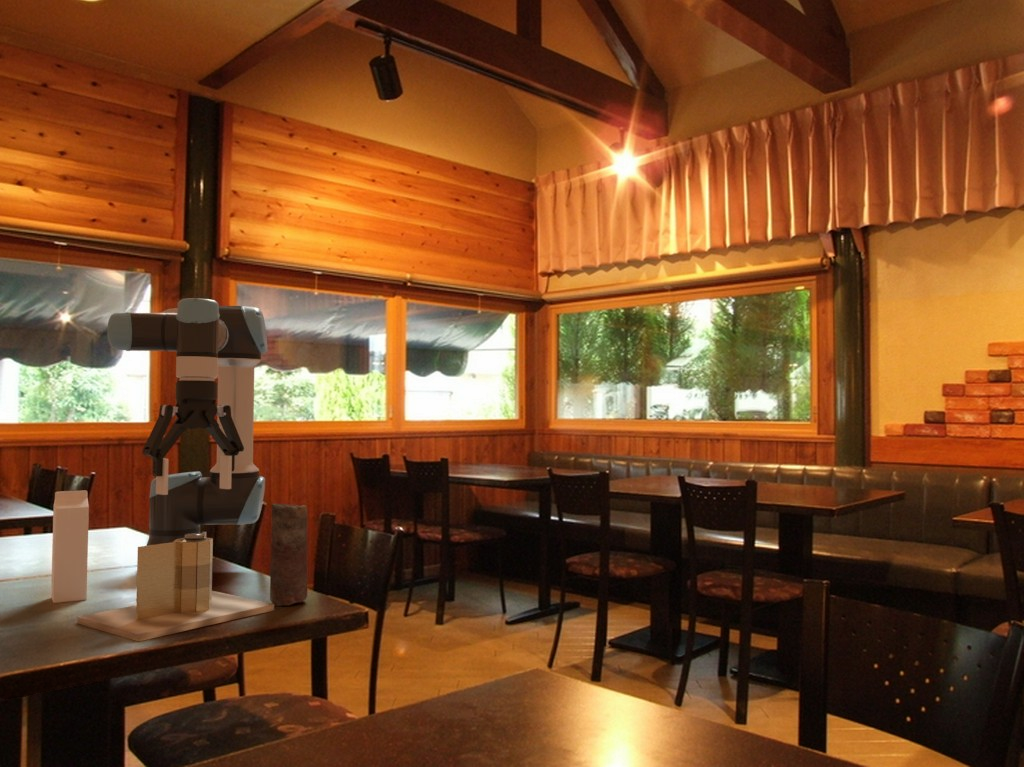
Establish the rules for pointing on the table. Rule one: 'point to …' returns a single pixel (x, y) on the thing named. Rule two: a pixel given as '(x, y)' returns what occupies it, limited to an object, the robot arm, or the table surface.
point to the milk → (70, 546)
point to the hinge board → (173, 618)
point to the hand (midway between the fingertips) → (194, 491)
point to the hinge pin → (194, 537)
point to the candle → (288, 554)
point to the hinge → (174, 578)
